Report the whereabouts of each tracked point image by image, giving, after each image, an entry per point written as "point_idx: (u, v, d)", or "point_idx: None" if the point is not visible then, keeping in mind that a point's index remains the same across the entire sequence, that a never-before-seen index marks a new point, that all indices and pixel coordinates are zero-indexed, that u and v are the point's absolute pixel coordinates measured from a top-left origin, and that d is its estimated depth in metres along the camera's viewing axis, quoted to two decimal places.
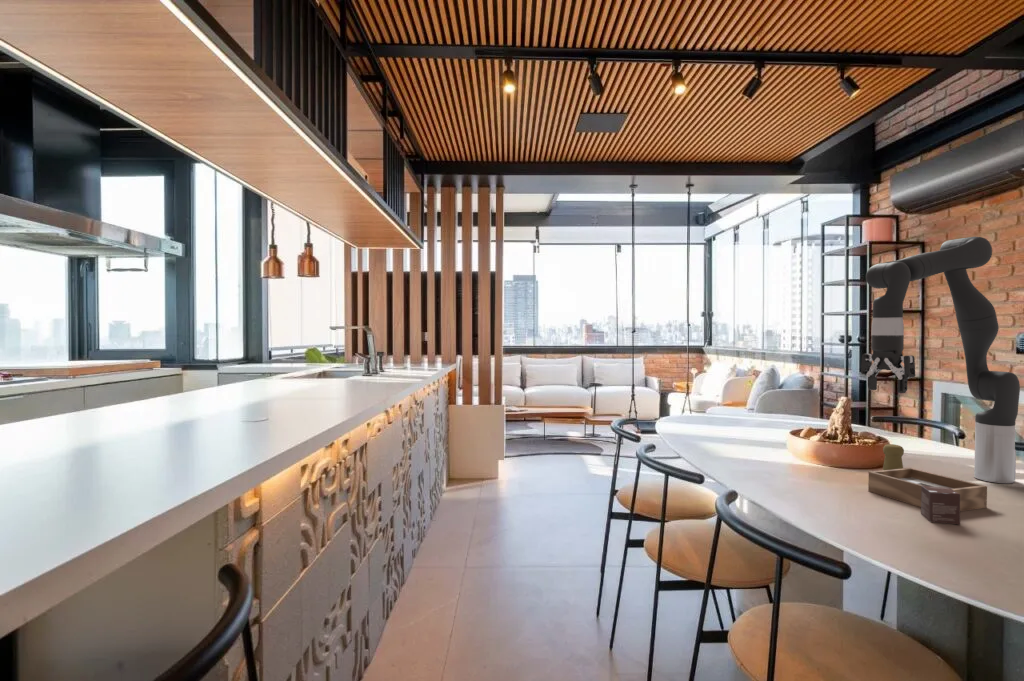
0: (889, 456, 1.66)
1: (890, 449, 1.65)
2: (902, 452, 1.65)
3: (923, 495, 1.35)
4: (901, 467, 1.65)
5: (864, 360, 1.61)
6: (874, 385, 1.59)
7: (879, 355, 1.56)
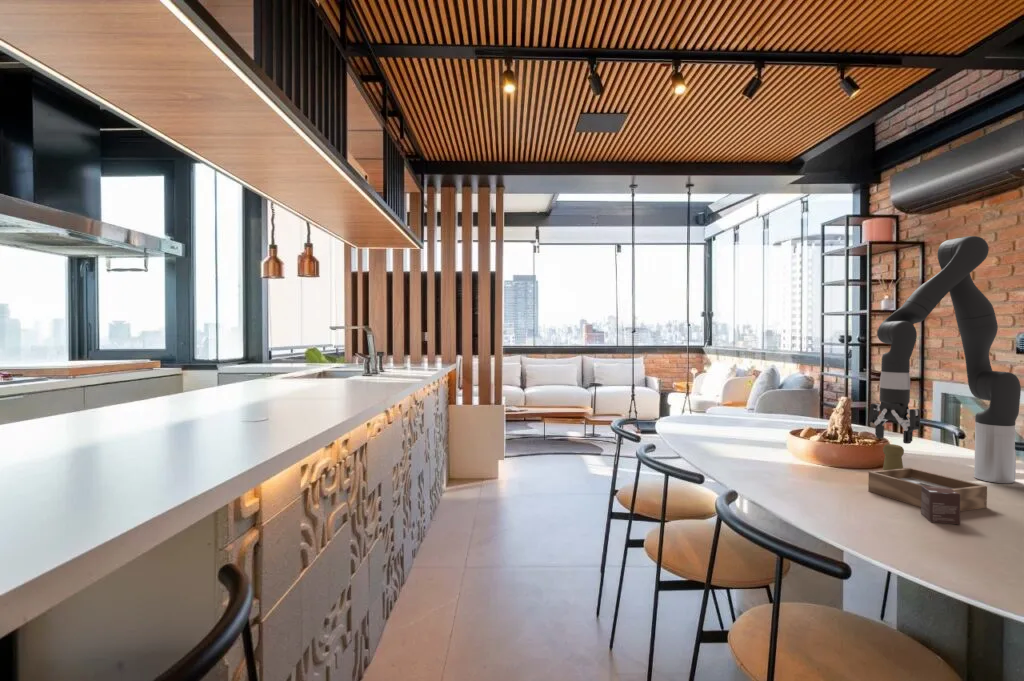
0: (889, 456, 1.66)
1: (890, 449, 1.65)
2: (902, 452, 1.65)
3: (923, 495, 1.35)
4: (901, 467, 1.65)
5: (872, 409, 1.72)
6: (881, 433, 1.71)
7: (886, 406, 1.68)
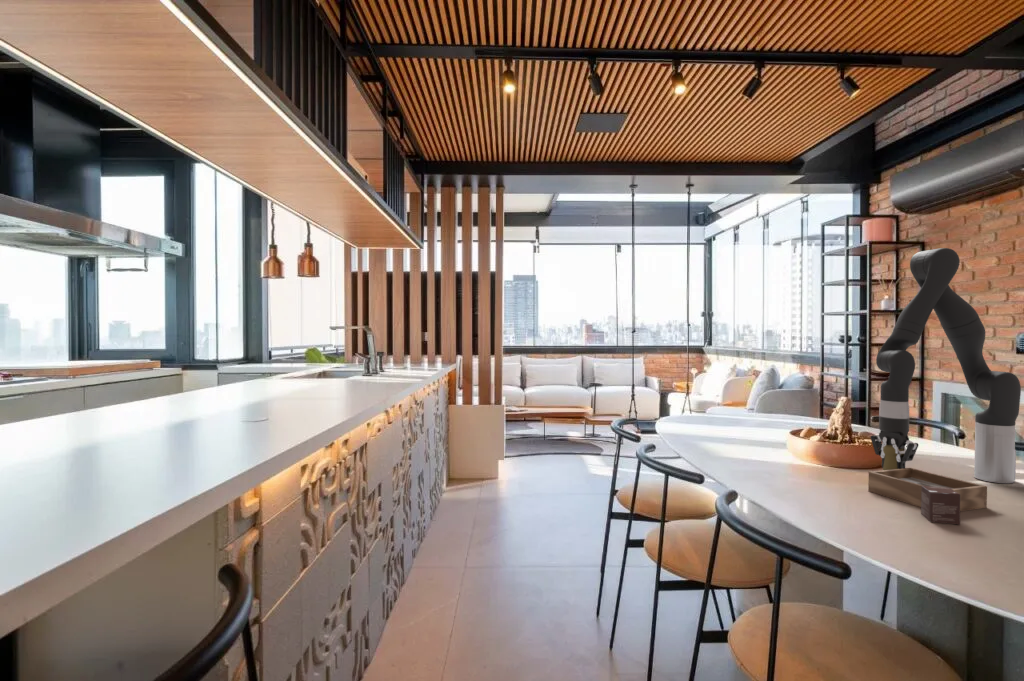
0: (889, 456, 1.66)
1: (890, 449, 1.65)
2: None
3: (923, 495, 1.35)
4: None
5: (874, 441, 1.72)
6: None
7: (886, 435, 1.68)
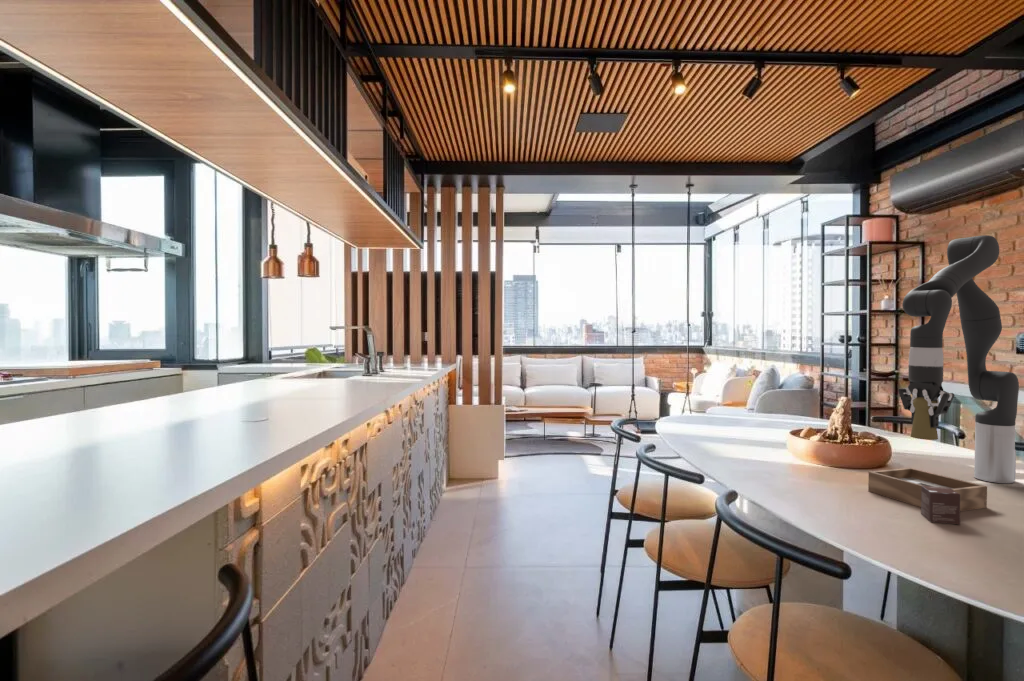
0: (919, 409, 1.48)
1: (921, 401, 1.48)
2: None
3: (923, 495, 1.35)
4: None
5: (902, 395, 1.54)
6: None
7: (917, 386, 1.50)
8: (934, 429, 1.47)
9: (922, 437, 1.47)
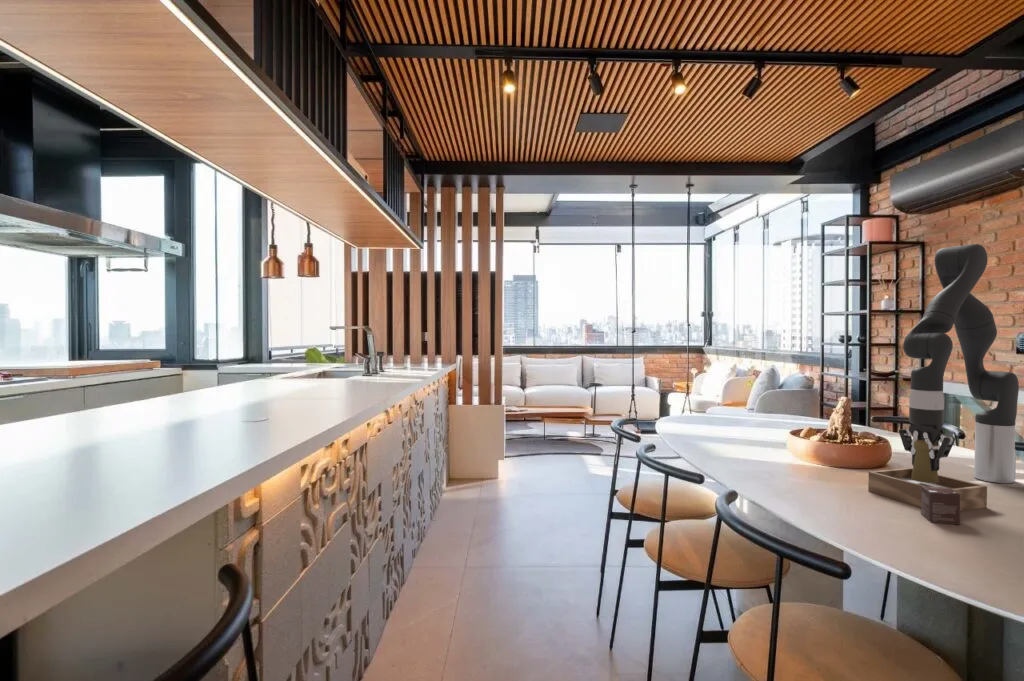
0: (920, 452, 1.48)
1: (922, 444, 1.47)
2: None
3: (923, 495, 1.35)
4: None
5: (903, 436, 1.54)
6: None
7: (917, 428, 1.50)
8: (935, 472, 1.47)
9: (923, 480, 1.47)
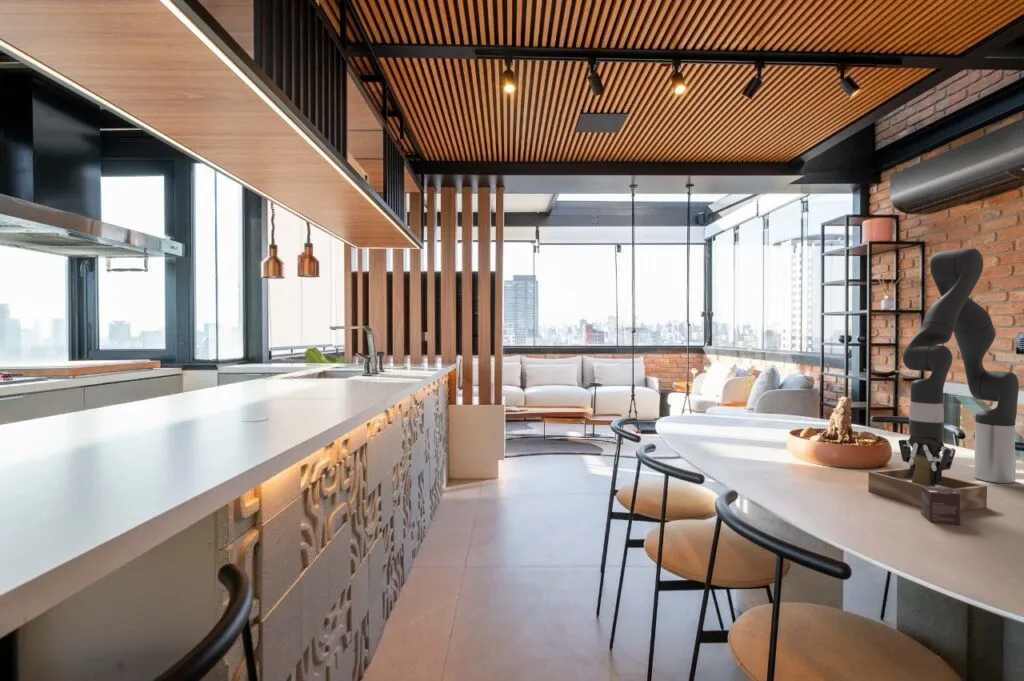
0: (919, 468, 1.48)
1: (922, 460, 1.47)
2: None
3: (923, 495, 1.35)
4: None
5: (902, 446, 1.54)
6: None
7: (917, 440, 1.50)
8: None
9: None
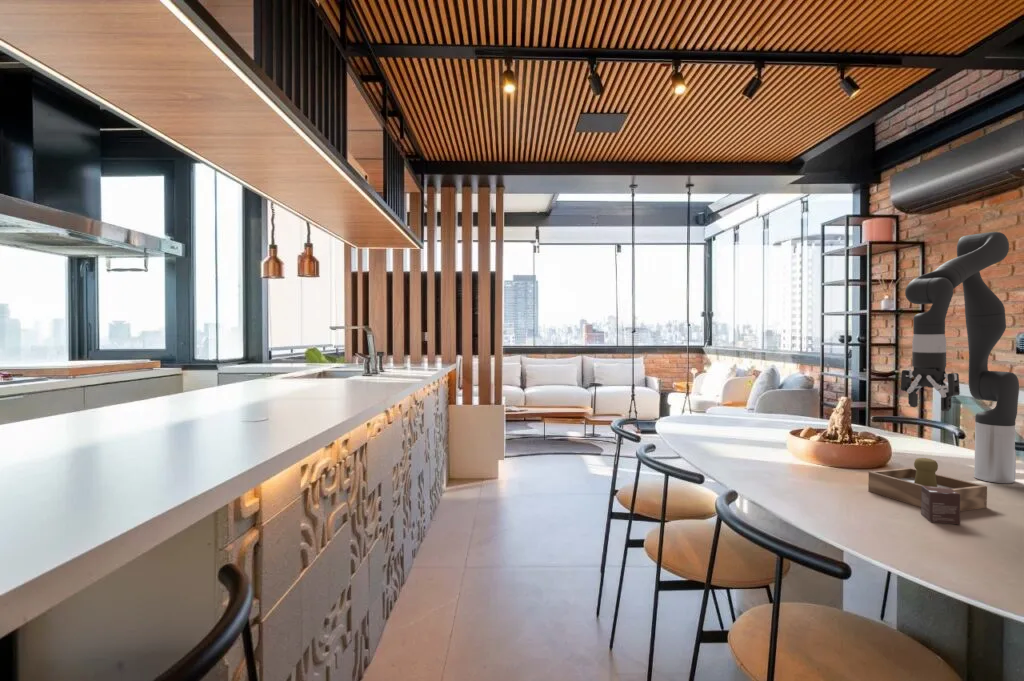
0: (921, 471, 1.48)
1: (923, 463, 1.47)
2: (936, 467, 1.47)
3: (923, 495, 1.35)
4: (935, 484, 1.47)
5: (904, 376, 1.58)
6: (915, 402, 1.57)
7: (920, 372, 1.54)
8: None
9: None
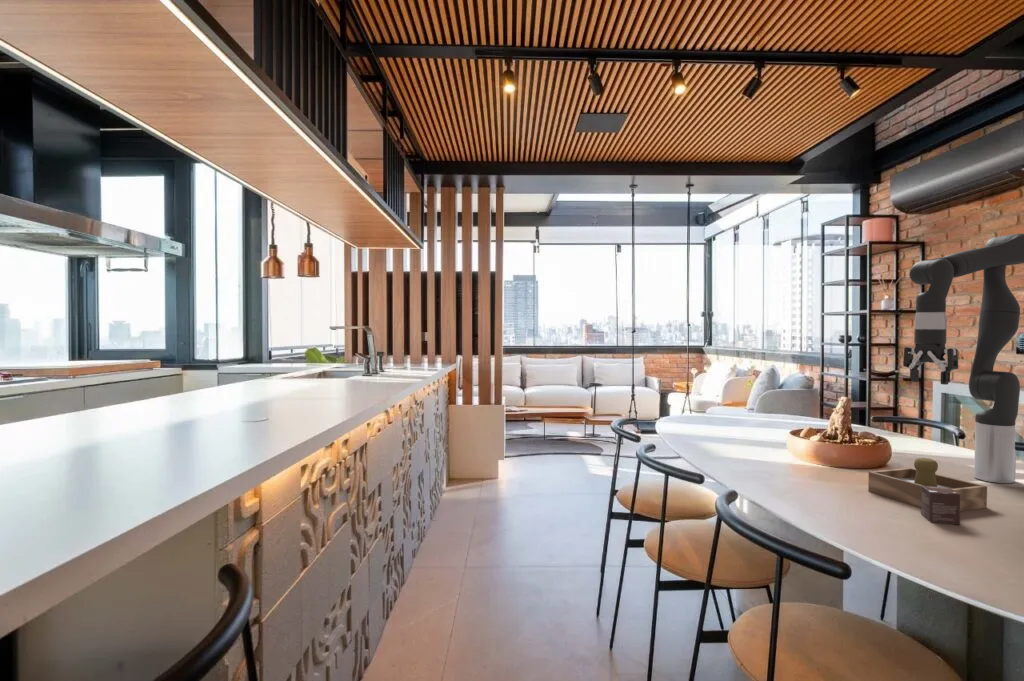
0: (921, 471, 1.48)
1: (923, 463, 1.47)
2: (936, 467, 1.47)
3: (923, 495, 1.35)
4: (935, 484, 1.47)
5: (906, 353, 1.68)
6: (916, 377, 1.66)
7: (922, 348, 1.64)
8: None
9: None
